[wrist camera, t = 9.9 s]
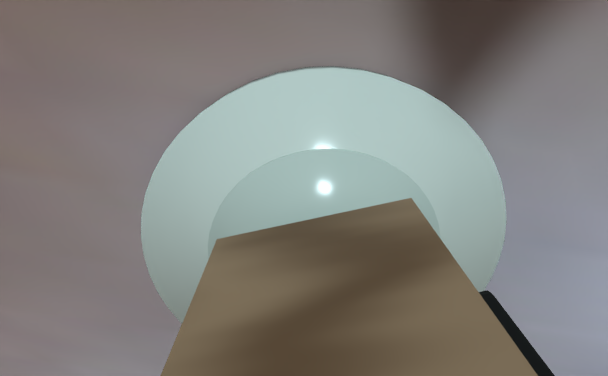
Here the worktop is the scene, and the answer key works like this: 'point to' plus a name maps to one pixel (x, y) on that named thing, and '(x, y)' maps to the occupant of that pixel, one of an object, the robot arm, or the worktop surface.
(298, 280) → the walnut block
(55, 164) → the worktop surface
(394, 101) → the dish
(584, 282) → the worktop surface
